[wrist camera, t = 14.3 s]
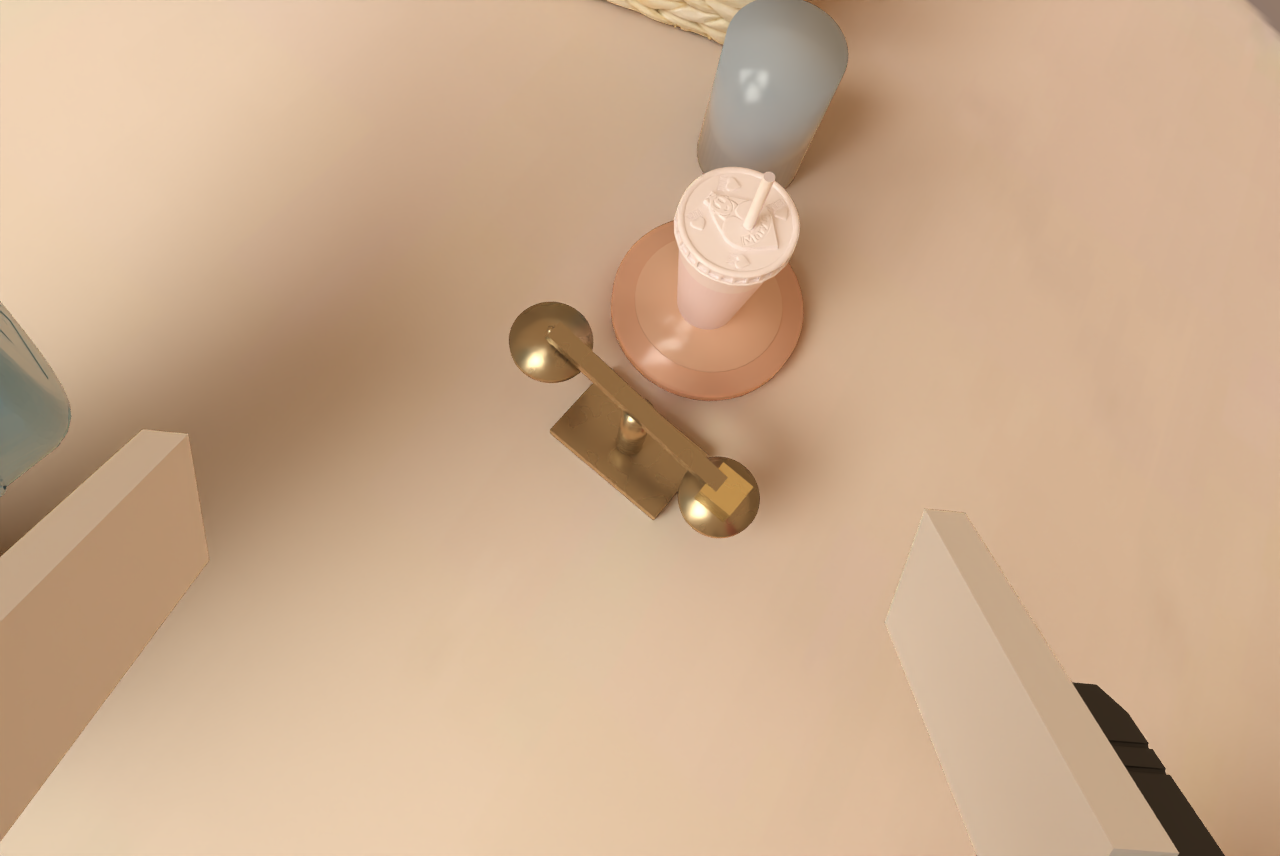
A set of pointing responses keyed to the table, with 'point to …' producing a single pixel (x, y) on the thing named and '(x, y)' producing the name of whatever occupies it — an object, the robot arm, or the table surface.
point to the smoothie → (730, 241)
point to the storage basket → (690, 14)
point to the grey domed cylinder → (771, 87)
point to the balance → (630, 430)
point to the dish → (690, 353)
